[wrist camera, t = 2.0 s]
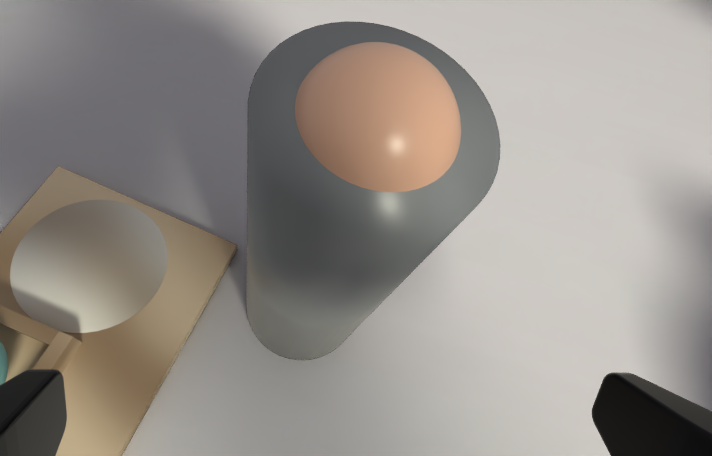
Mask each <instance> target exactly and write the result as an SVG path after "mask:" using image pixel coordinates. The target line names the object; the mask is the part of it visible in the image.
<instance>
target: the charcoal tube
mask: <svg viewBox="0 0 712 456" xmlns="http://www.w3.org/2000/svg"><path fill="white" fill-rule="evenodd" d="M499 160H500V138H499V131H498V127H497V123H496V119H495V116H494V114H493V111H492V109H491V106H490V104H489V102H488V101H487V99H486V97H485V95H484V93H483V92H482V90H481V89H480V88H479V86H478V85H477V83H476V82H475V81H474V80H473V78H472V77H471V76H470V75H469V74H468V73H467V71H466V70H465V69H463V68H462V67H461V66H460V65H459V64H458V63H457V62H456V61H455V60H454V59H452V58H451V57H450V56H449V55H447V54H446V53H445V52H443V51H442V50H440V49H439V48H437V47H436V46H434V45H432V44H431V43H429V42H427V41H425V40H423V39H421V38H419V37H417V36H415V35H412V34H410V33H407V32H405V31H402V30H399V29H396V28H392V27H389V26H384V25H379V24H374V23H365V22H337V23H329V24H324V25H319V26H315V27H312V28H309V29H306V30H303V31H301V32H299V33H297V34H295V35H293V36H291V37H289V38H288V39H286V40H285V41H283V42H282V43H280V44H279V45H278V46H277V47H276V48H275V49H274V50H272V51H271V52H270V53H269V55H268V56H267V57H266V58H265V60H264V61H263V62H262V63H261V65H260V67H259V69H258V70H257V72H256V74H255V76H254V79H253V82H252V84H251V87H250V92H249V98H248V160H247V316H248V320H249V323H250V326H251V328H252V330H253V332H254V334H255V335H256V337H257V338H258V339H259V340H260V342H261V343H262V344H263V345H264V346H266V347H267V348H268V349H269V350H271V351H272V352H274V353H276V354H278V355H280V356H283V357H285V358H289V359H294V360H310V359H315V358H318V357H321V356H324V355H326V354H328V353H330V352H332V351H333V350H335V349H336V348H337V347H338V346H339V345H340V344H342V343H343V342H344V341H345V340H346V339H347V337H348V336H349V335H350V334H351V333H352V332H353V331H354V330H355V329H356V328H357V327H358V326H359V325H360V324H361V323H362V322H363V321H364V320H365V319H366V318H367V317H368V316H369V315H370V314H371V313H372V312H373V311H374V310H375V309H376V308H377V307H378V306H379V305H380V304H381V303H382V302H383V301H384V300H385V299H386V298H387V297H388V296H389V295H390V294H391V293H392V292H393V291H394V290H395V289H396V288H397V287H398V286H399V285H400V284H401V283H402V282H403V281H404V280H405V279H406V278H407V277H408V276H409V275H410V274H411V272H412V271H413V270H414V269H415V268H416V267H417V266H418V265H419V264H420V263H421V262H422V261H423V260H424V259H425V258H426V257H427V256H428V255H429V254H430V253H431V252H432V251H433V250H434V249H435V248H436V247H437V246H438V245H439V244H440V243H441V242H442V241H443V240H444V239H445V238H446V237H447V236H448V235H449V234H450V233H451V232H452V231H453V230H454V229H455V228H456V227H457V226H458V225H459V224H460V223H461V222H462V221H463V220H464V219H465V218H466V217H467V216H468V215H469V214H470V213H471V212H472V211H473V210H474V209H475V207H476V206H477V205H478V204H479V203H480V202H481V201H482V199H483V198H484V197H485V196H486V194H487V193H488V191H489V189H490V187H491V185H492V184H493V181H494V179H495V176H496V173H497V170H498V165H499Z"/></svg>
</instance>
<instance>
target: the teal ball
mask: <svg viewBox="0 0 712 456" xmlns="http://www.w3.org/2000/svg"><path fill="white" fill-rule="evenodd" d="M7 373H8V357H7V353H6V350H5V348H4V346H3V344H2V343H1V342H0V385H1V384H3V383H4V382H5V381H6V378H7Z"/></svg>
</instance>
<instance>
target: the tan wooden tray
mask: <svg viewBox="0 0 712 456" xmlns="http://www.w3.org/2000/svg"><path fill="white" fill-rule="evenodd" d="M236 251H237V245H236V244H233V243H231V242H229V241H227V240H224V239H222V238H220V237H218V236H215V235H213V234H211V233H209V232H206V231H204V230H202V229H200V228H197V227H195V226H193V225H191V224H188V223H186V222H184V221H181V220H179V219H177V218H175V217H172V216H170V215H168V214H166V213H163V212H161V211H159V210H157V209H154V208H152V207H150V206H148V205H145V204H143V203H141V202H139V201H136V200H134V199H132V198H129V197H127V196H125V195H123V194H120V193H118V192H116V191H114V190H111V189H109V188H107V187H105V186H102V185H100V184H98V183H96V182H93V181H91V180H89V179H87V178H84V177H82V176H80V175H78V174H75V173H73V172H71V171H68V170H66V169H64V168H62V167H59V166H58V167H57V168H56V169H55V170H54V172H53V173H52V174H51V175H50V176H49V177H48V178H47V180H46V181H45V182H44V183H43V184H42V185H41V187H40V188H39V189H38V190H37V191H36V192H35V194H34V195H33V196H32V197H31V198H30V199H29V201H28V202H27V203H26V204H25V205H24V206H23V207H22V209H21V210H20V211H19V212H18V213H17V214H16V216H15V217H14V218H13V219H12V220H11V221H10V223H9V224H8V225H7V226H6V227H5V228H4V230H3V231H2V232H1V233H0V342H1V343H2V344H3V346H4V348H5V350H6V353H7V357H8V373H7V378H6V381H8V380H10V379H11V378H13V377H15V376H17V375H18V374H20V373H22V372H24V371H26V370H29V369H57V370H59V371H60V372H61V373H62V375H63V379H64V388H65V399H66V409H67V422H66V427H65V431H64V434H63V437H62V440H61V442H60V445H59V448H58V450H57V453H56V456H122V454H123V453H124V451H125V449H126V447H127V445H128V444H129V442H130V440H131V438H132V437H133V435H134V433H135V431H136V429H137V428H138V426H139V424H140V422H141V420H142V419H143V417H144V415H145V413H146V412H147V410H148V408H149V406H150V404H151V403H152V401H153V399H154V397H155V395H156V394H157V392H158V390H159V388H160V387H161V385H162V383H163V381H164V379H165V378H166V376H167V374H168V372H169V370H170V369H171V367H172V365H173V363H174V362H175V360H176V358H177V356H178V354H179V353H180V351H181V349H182V347H183V346H184V344H185V342H186V340H187V338H188V337H189V335H190V333H191V331H192V329H193V328H194V326H195V324H196V322H197V321H198V319H199V317H200V315H201V313H202V312H203V310H204V308H205V306H206V304H207V303H208V301H209V299H210V297H211V296H212V294H213V292H214V290H215V288H216V287H217V285H218V283H219V281H220V279H221V278H222V276H223V274H224V272H225V271H226V269H227V267H228V265H229V263H230V262H231V260H232V258H233V256H234V254H235V253H236ZM6 381H5V382H6Z"/></svg>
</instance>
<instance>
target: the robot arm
mask: <svg viewBox="0 0 712 456" xmlns="http://www.w3.org/2000/svg"><path fill="white" fill-rule="evenodd" d="M592 418H593V421H594V424H595V426H596V428H597V430H598V431H599V433H600V435H601V437H602V439H603V441H604V443H605V445H606V447H607V449H608V451H609V453H610V455H611V456H712V412H711V411H709V410H707V409H705V408H703V407H701V406H699V405H697V404H695V403H693V402H691V401H688V400H686V399H684V398H682V397H680V396H678V395H676V394H674V393H672V392H670V391H668V390H666V389H663V388H661V387H659V386H657V385H655V384H653V383H651V382H649V381H647V380H645V379H643V378H641V377H638V376H636V375H634V374H631V373H609V374H608V375H606V376H605V377H604V379H603V382H602V384H601V387H600V389H599V392H598V394H597V397H596V400H595V402H594V405H593V408H592ZM66 422H67V409H66V399H65V388H64V379H63V375H62V373H61V372H60V371H59V370H57V369H29V370H26V371H24V372H22V373H20V374H18V375H17V376H15V377H13V378H11V379H10V380H8V381H6V382H4V383H3V384H1V385H0V456H56V453H57V450H58V448H59V445H60V442H61V440H62V437H63V434H64V431H65V427H66Z"/></svg>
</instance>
